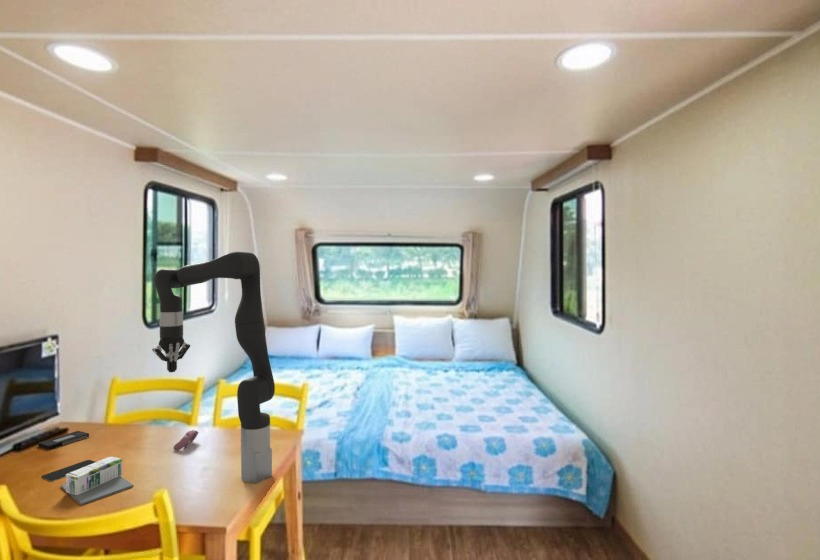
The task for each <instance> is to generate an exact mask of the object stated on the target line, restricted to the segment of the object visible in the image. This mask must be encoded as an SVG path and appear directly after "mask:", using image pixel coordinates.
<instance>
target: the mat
mask: <svg viewBox="0 0 820 560" xmlns="http://www.w3.org/2000/svg"><path fill="white" fill-rule="evenodd" d="M133 487H134V484H132V483H131V482H130V481H128V480H127V479H126V478H124V477H122V475H121V476H119V477H117V478H114V479H112V480H110V481H108V482H105V483H103V484H101V485H99V486H97V487H95V488H92V489H90V490H88V491H86V492H84V493H82V494H79V495H75V494H71V493H68V492H66V483H63V484H60V488H61V489H62V490H64V491H65V492H66V493H67V494H68V495H69V496H71V498H72V499H73V500H74V501H75V502H77V503H78V504H79V506H83V505H85V504H89V503H92V502H94V501H97V500H99V499H103V498H105V497H108V496H110V495H114V494H117V493H120V492H123V491H126V490H129V489H131V488H133Z"/></svg>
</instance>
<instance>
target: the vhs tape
mask: <svg viewBox="0 0 820 560" xmlns="http://www.w3.org/2000/svg"><path fill="white" fill-rule="evenodd" d="M87 437H88V438H90V433H89V432H85V431H80V430H76V431H73V432H70V433H65V434H63V435H59V436H57V437H53V438H49V439H46V440H42V441H39V442H37V447H38V446H39V447H38V448H41V449H44V448H45V450H48V449H49V450H48V451H50V449H51V450H53V448H54V449H57V448H59V446H60V447H63V446H66V445H69V444H72V443H75V442H78V441H82V440H83V439H87ZM81 439H82V440H81ZM65 444H66V445H65ZM62 445H63V446H62ZM56 447H57V448H56Z"/></svg>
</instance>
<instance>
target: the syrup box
mask: <svg viewBox="0 0 820 560" xmlns="http://www.w3.org/2000/svg"><path fill="white" fill-rule="evenodd" d="M123 475H124V474H123V458H120V457H116V456H107V457H106V458H103V459H100V460H98V461H95V463H93V464H90V465H88V466H85V467H83V468H80V469H78V470H75V471H73V472H70V473H68V474H66V477H65V478H66V479H65V484H66V491H65V493H67V492H68V493H71V494H75V495H79V494H82V493H84V492H86V491H88V490H90V489H92V488H95V487H97V486H99V485H101V484H103V483H105V482H108V481H110V480H112V479H114V478H117V477H119V476H121V477H122V476H123ZM68 493H67V494H68Z"/></svg>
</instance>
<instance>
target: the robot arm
mask: <svg viewBox="0 0 820 560" xmlns="http://www.w3.org/2000/svg"><path fill="white" fill-rule="evenodd" d="M214 279H233V280H240V283H241V284H240V286H241V298H240V301H239V304H238V306H237V310H236V313H235V316H234V326H235V334H236V336H235V337H236V339H237V342H238V345H239V346H240V347H241V348H242V350H243V351H244V353H246V356H247V357H248V359H249V360H250V363H251V366H252V374H253V376H252V377H249V378H245V379H243V380H241V382H240V383H239V384H238V386H237V391H236V392H237V393H236V401H237V413H238V418H239V420H240V466H241V467H240V468H241V469H240V470H241V471H240V472H241V473H240V474H241V476H240V477H241V480H242V481H244V482H247V483H255V484H257V483H260V482H262V481H264V480H267V479H269V478H271V477H272V476H273V448H272V447H271V416H270V414H268V413H266V412H261V404H264V403H266V402H269V401H271V400H272V399H273V397H274V396H275V391H276V386H275V380H274V375H273V370H272V365H271V361H270V357H269V351H268V345H267V343H268V342H267V336H266V328H265V327H266V326H265V318H264V314H263V304H262V303H263V302H262V294H261V266H260V262H259V258H258V257H257V256H256V255H255V254H254V253H253V252H246V251H232V252H228V253H226V254H223V255H221V256H219V257H216V258H214V259H211V260H207V261H205V262H198V263H193V264H188V265H184V266H182V267H180V268H161V269H159V270H157V272H155V275H154V278H153V281H154V286H155V289H156V293H157V295H158V298H159V341H158V345H157V346H155V347H153V348H152V350H151V351H152V352H153V353H154V354H155V355H156V357H158V359H160V360H161V361H163V362H166V371H168V373H175V372H177V369H178V360H182V359H183V358H184V356H185V355H186V354H187V352H188V351H189V349H190V348H191V344H189V343H186V342H185V339H184V315H183V300H182V299H183V298H182V296H180V295H178V294H174V292H173V290H172V289H180V288H186V287H188V286H194V285H198V284H202V283H206V282H209V281H211V280H214ZM163 351H164V353H163Z"/></svg>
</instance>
